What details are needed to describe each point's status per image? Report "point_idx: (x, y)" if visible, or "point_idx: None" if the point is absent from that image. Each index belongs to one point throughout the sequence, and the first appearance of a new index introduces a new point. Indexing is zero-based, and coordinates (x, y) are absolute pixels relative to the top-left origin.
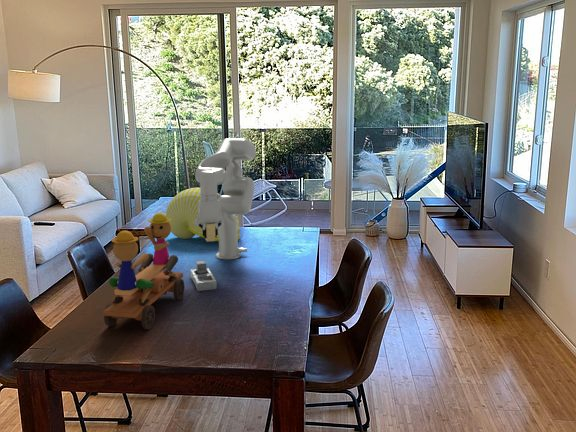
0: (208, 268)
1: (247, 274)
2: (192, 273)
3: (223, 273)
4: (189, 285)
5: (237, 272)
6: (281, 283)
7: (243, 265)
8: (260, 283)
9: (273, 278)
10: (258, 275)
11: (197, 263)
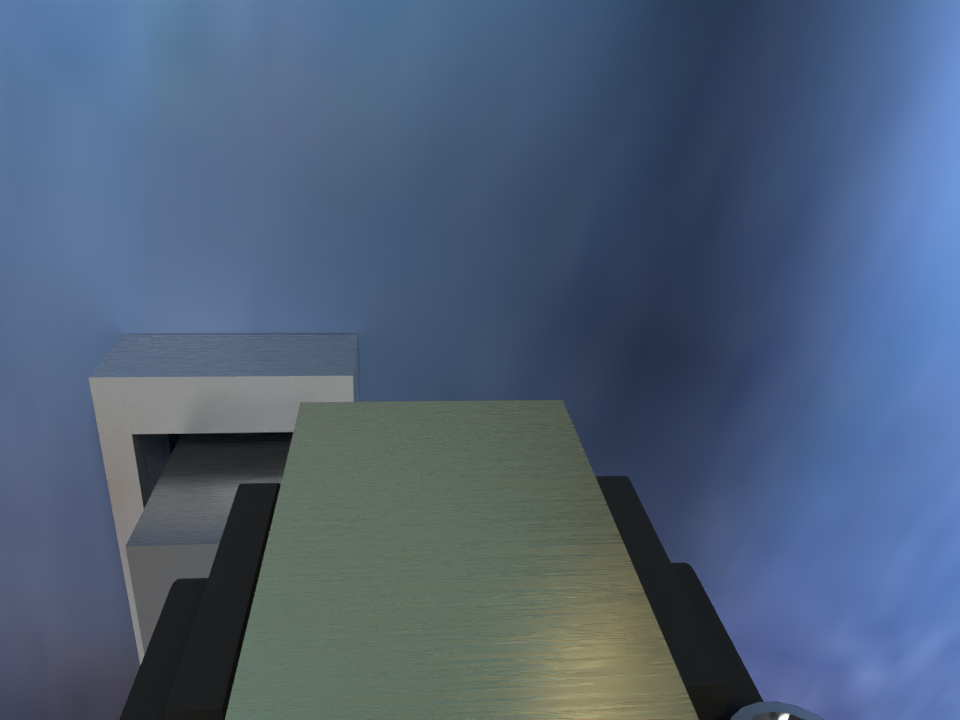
0: (351, 397)
1: (793, 430)
2: (115, 514)
3: (553, 317)
4: (103, 588)
5: (721, 332)
6: (938, 716)
7: (917, 66)
8: (783, 683)
9: (954, 599)
10: (878, 489)
11: (149, 630)
